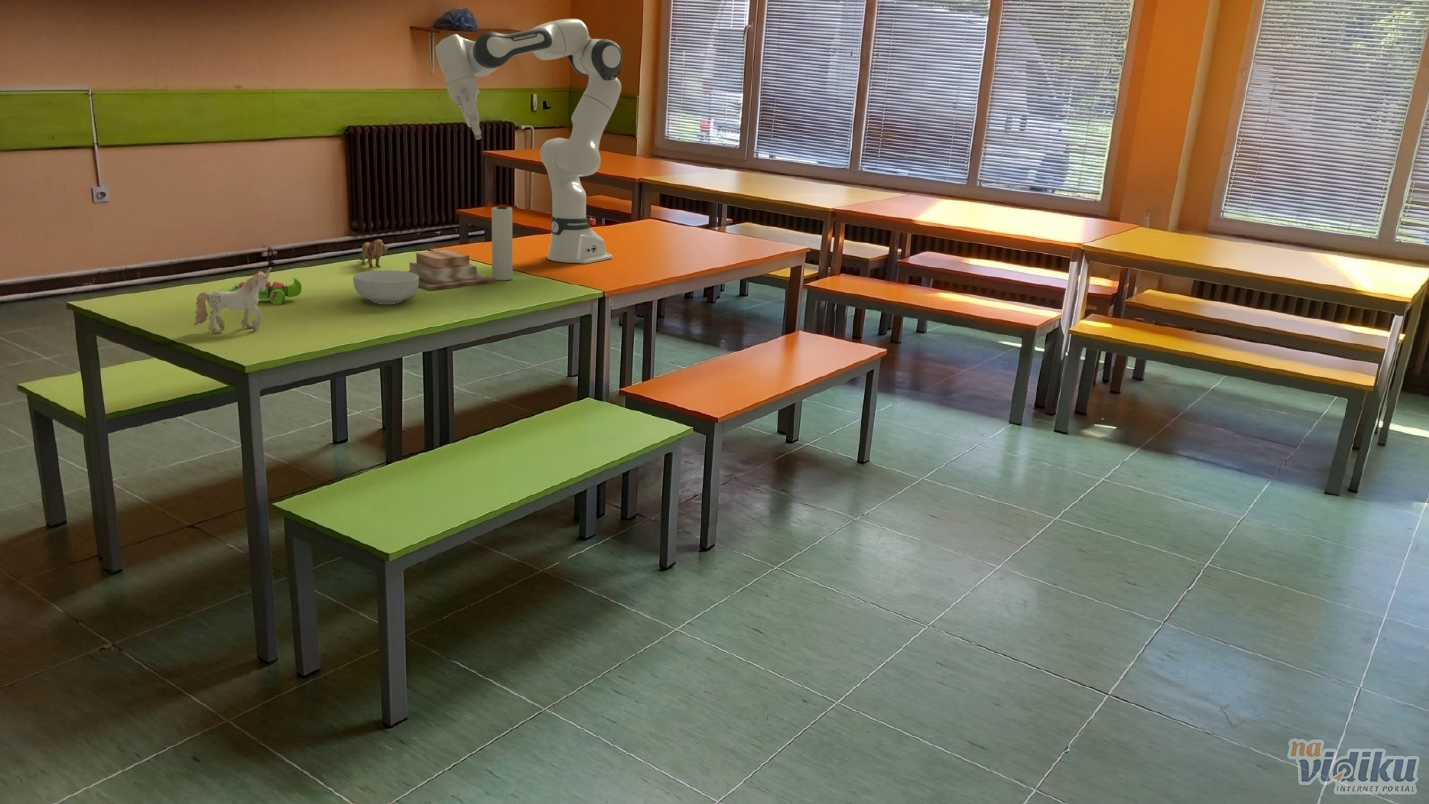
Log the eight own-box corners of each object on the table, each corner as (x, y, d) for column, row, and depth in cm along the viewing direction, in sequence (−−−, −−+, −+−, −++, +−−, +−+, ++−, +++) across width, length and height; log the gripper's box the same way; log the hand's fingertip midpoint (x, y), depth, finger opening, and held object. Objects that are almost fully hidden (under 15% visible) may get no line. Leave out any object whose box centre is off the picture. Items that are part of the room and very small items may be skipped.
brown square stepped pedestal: (455, 269, 327) (454, 245, 324) (495, 282, 312) (495, 257, 310) (390, 276, 312) (389, 251, 309) (430, 290, 297) (429, 264, 295)
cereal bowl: (432, 301, 286) (432, 275, 284) (385, 311, 272) (384, 285, 270) (388, 291, 294) (387, 266, 292) (340, 301, 280) (339, 275, 278)
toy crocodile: (219, 305, 269) (217, 281, 267) (222, 299, 275) (220, 276, 273) (301, 304, 275) (300, 281, 273) (303, 298, 281) (301, 276, 279)
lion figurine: (390, 269, 321) (389, 239, 318) (374, 270, 318) (373, 241, 315) (368, 260, 331) (366, 232, 328) (352, 262, 328) (350, 233, 325)
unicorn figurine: (288, 327, 253) (284, 272, 249) (206, 339, 239) (200, 281, 235) (275, 320, 257) (271, 267, 253) (193, 332, 244) (187, 275, 240)
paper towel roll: (498, 281, 313) (497, 209, 306) (488, 277, 318) (487, 206, 311) (519, 279, 318) (519, 208, 311) (509, 275, 322) (509, 205, 315)
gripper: (473, 81, 304) (488, 129, 306) (474, 94, 324) (488, 138, 326) (452, 87, 303) (467, 134, 305) (454, 99, 323) (469, 143, 325)
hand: (478, 136), depth 316 cm, fingers open, 8 cm apart
